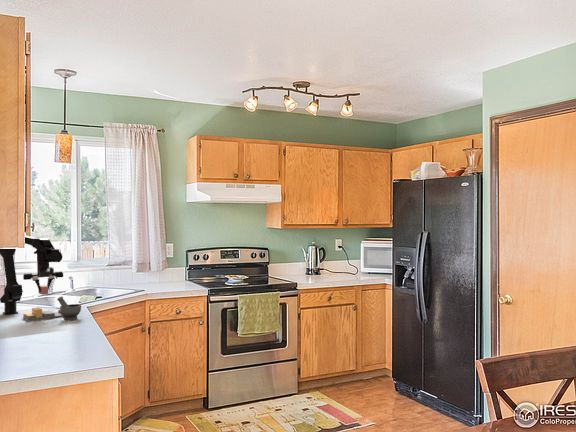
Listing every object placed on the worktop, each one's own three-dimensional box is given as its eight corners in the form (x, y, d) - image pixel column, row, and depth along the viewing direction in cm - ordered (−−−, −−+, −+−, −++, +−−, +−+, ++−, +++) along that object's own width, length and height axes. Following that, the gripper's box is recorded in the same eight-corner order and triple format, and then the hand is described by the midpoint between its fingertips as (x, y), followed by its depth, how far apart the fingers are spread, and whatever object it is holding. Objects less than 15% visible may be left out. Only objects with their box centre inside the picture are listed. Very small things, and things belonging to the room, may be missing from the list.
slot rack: (23, 318, 262) (23, 313, 262) (64, 313, 275) (64, 308, 275) (28, 321, 254) (28, 315, 254) (69, 316, 267) (69, 311, 267)
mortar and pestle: (79, 316, 265) (79, 293, 265) (82, 320, 257) (82, 296, 257) (56, 319, 259) (56, 295, 259) (58, 322, 251) (58, 297, 251)
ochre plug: (42, 317, 259) (42, 309, 259) (35, 318, 257) (35, 310, 257) (37, 314, 266) (37, 307, 266) (31, 315, 264) (31, 307, 264)
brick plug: (38, 293, 271) (38, 285, 271) (44, 292, 273) (44, 285, 273) (42, 294, 264) (42, 287, 264) (48, 294, 266) (48, 286, 266)
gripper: (24, 264, 257) (24, 295, 257) (64, 261, 266) (64, 291, 266) (22, 263, 267) (23, 292, 266) (61, 260, 276) (62, 289, 276)
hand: (43, 291), depth 268 cm, fingers closed on brick plug, 3 cm apart
